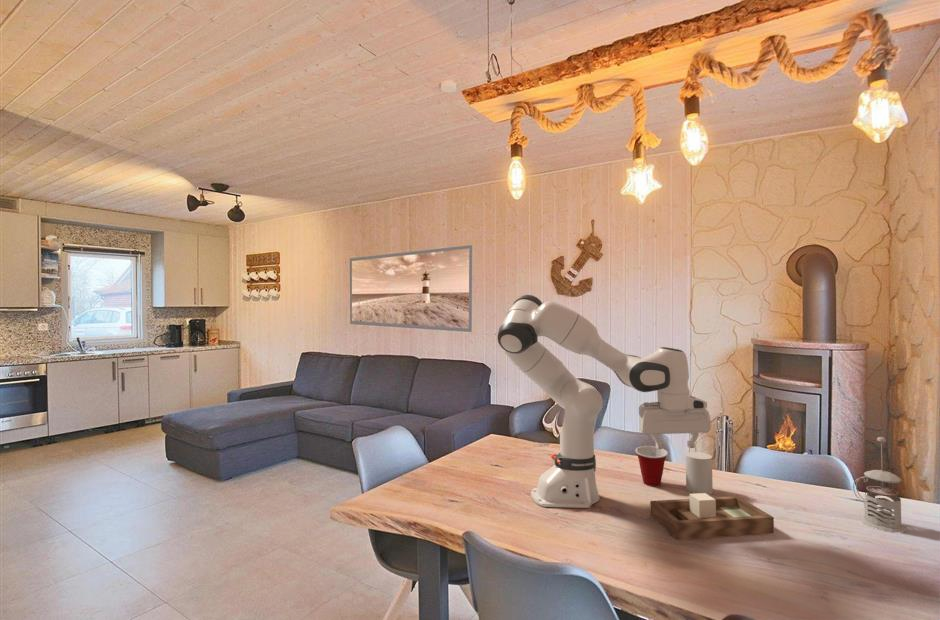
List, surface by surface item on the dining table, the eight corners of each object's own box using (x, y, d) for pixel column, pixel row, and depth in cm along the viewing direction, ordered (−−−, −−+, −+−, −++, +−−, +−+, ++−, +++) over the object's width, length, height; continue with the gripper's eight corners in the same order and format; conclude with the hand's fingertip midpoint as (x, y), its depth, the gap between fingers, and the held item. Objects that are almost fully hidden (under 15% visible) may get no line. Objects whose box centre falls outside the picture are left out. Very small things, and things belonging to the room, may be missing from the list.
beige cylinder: (706, 486, 164) (706, 452, 164) (716, 495, 156) (716, 459, 156) (682, 485, 165) (682, 451, 165) (691, 494, 157) (690, 458, 157)
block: (699, 517, 135) (699, 500, 135) (689, 510, 140) (689, 493, 140) (715, 517, 135) (715, 499, 135) (705, 509, 140) (705, 493, 140)
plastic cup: (635, 487, 164) (634, 453, 164) (636, 476, 174) (635, 444, 174) (668, 491, 160) (668, 456, 160) (667, 480, 170) (667, 447, 170)
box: (677, 539, 126) (677, 523, 126) (650, 515, 141) (650, 500, 141) (773, 533, 129) (773, 517, 129) (737, 510, 144) (737, 496, 144)
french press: (897, 535, 127) (895, 443, 127) (846, 519, 137) (844, 433, 137) (913, 527, 131) (911, 438, 131) (863, 512, 141) (861, 429, 142)
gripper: (642, 404, 136) (644, 452, 136) (712, 402, 136) (714, 450, 136) (634, 400, 143) (636, 445, 142) (702, 398, 142) (703, 444, 142)
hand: (675, 448), depth 139 cm, fingers open, 8 cm apart
